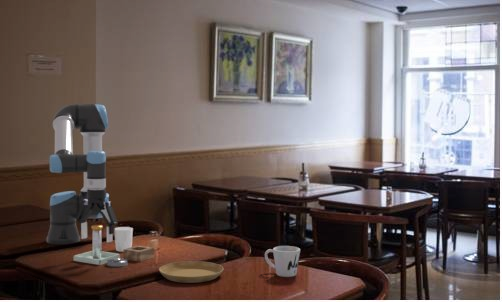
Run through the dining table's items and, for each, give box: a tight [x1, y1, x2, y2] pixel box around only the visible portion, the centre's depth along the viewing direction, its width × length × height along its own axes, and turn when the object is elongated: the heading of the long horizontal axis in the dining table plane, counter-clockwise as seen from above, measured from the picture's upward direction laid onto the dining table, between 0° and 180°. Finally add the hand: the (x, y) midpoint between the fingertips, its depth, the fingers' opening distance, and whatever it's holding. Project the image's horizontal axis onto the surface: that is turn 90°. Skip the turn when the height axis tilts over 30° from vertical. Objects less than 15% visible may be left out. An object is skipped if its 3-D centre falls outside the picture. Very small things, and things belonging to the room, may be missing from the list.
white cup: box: [114, 226, 134, 252], centre depth 276 cm, size 8×8×10 cm
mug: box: [264, 245, 301, 278], centre depth 240 cm, size 10×15×10 cm
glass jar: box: [90, 224, 104, 260], centre depth 257 cm, size 5×5×14 cm
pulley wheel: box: [106, 257, 129, 268], centre depth 250 cm, size 8×8×3 cm
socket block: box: [122, 245, 155, 262], centre depth 261 cm, size 9×9×4 cm
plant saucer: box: [158, 260, 224, 284], centre depth 235 cm, size 24×24×3 cm
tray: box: [73, 250, 121, 266], centre depth 257 cm, size 14×12×2 cm
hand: (96, 240), depth 257 cm, fingers open, 13 cm apart
